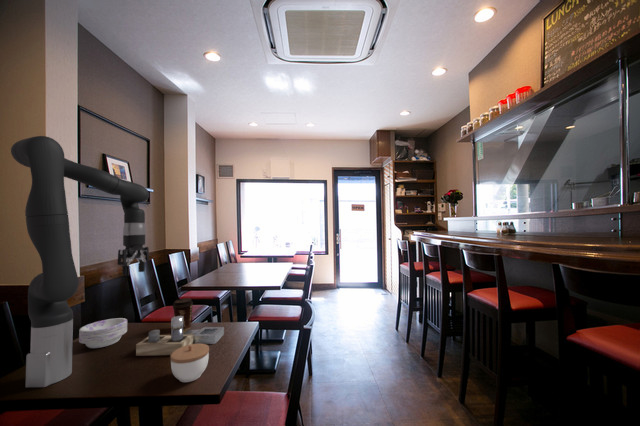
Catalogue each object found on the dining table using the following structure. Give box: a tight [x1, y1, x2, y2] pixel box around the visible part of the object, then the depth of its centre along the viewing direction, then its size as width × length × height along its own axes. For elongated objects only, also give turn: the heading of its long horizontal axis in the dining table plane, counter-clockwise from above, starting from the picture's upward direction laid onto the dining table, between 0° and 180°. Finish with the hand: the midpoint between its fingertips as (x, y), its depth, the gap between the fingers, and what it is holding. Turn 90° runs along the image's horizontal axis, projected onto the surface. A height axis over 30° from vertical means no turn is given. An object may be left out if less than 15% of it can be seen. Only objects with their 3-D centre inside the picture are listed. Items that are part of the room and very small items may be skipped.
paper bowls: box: [78, 317, 128, 349], centre depth 107 cm, size 15×15×8 cm
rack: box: [135, 329, 193, 357], centre depth 99 cm, size 8×17×7 cm, turn 89°
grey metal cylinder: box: [170, 316, 183, 342], centre depth 99 cm, size 4×4×12 cm
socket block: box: [193, 326, 225, 345], centre depth 107 cm, size 9×9×3 cm
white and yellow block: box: [183, 329, 200, 335], centre depth 108 cm, size 4×8×3 cm, turn 89°
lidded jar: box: [170, 344, 210, 383], centre depth 81 cm, size 11×11×9 cm
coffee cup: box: [172, 297, 194, 330], centre depth 120 cm, size 9×8×13 cm
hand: (134, 273), depth 107 cm, fingers open, 8 cm apart
